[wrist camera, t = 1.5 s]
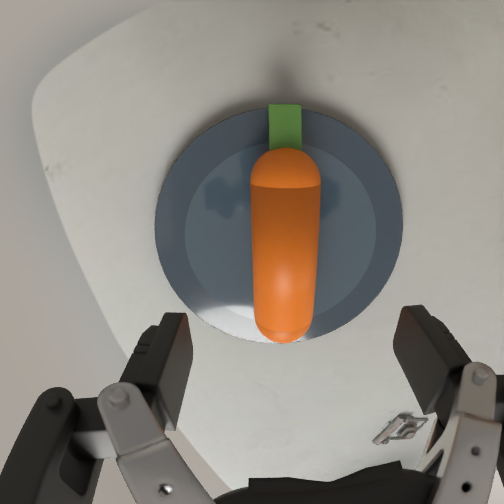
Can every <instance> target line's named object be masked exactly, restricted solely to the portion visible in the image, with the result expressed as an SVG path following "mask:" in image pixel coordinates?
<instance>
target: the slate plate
mask: <svg viewBox="0 0 504 504" xmlns="http://www.w3.org/2000/svg"><path fill="white" fill-rule="evenodd" d="M301 114H302V151H303V152H305V153H306V154H307V155H308V156H310V157H311V159H312V160H313V161H314V162H315V164H316V166H317V168H318V169H319V173H320V177H321V196H320V222H319V241H318V258H317V272H316V285H315V297H314V309H313V318H312V322H311V325H310V327H309V329H308V330H307V332H306V333H305V334H304V335H303V336H302V337H300V338H299V339H297V340H295V341H293V342H299V341H304V340H309V339H312V338H316V337H319V336H322V335H324V334H327V333H329V332H331V331H334V330H336V329H338V328H339V327H341V326H343V325H345V324H346V323H348V322H349V321H351V320H352V319H353V318H355V317H356V316H358V315H359V314H360V313H361V312H362V311H363V310H364V309H366V308H367V307H368V306H369V305H370V304H371V303H372V301H373V300H374V299H375V298H376V297H377V296H378V294H379V293H380V292H381V290H382V289H383V287H384V286H385V284H386V283H387V281H388V279H389V277H390V275H391V273H392V271H393V269H394V266H395V264H396V261H397V258H398V255H399V251H400V246H401V241H402V231H403V217H402V207H401V202H400V196H399V193H398V190H397V187H396V184H395V181H394V179H393V177H392V175H391V173H390V171H389V169H388V167H387V165H386V163H385V162H384V161H383V159H382V158H381V156H380V155H379V154H378V152H377V151H376V150H375V149H374V148H373V147H372V146H371V145H370V144H369V143H368V141H367V140H366V139H364V138H363V137H362V136H361V135H359V134H358V133H357V132H356V131H354V130H353V129H352V128H350V127H348V126H347V125H345V124H343V123H341V122H340V121H338V120H336V119H334V118H331V117H329V116H326V115H323V114H321V113H318V112H314V111H309V110H305V109H301ZM268 151H270V150H269V116H268V108H262V109H257V110H252V111H248V112H244V113H241V114H238V115H236V116H233V117H230V118H228V119H225V120H224V121H222V122H220V123H218V124H216V125H214V126H213V127H211V128H209V129H208V130H207V131H205V132H204V133H203V134H201V135H200V136H199V137H197V138H196V139H195V140H194V141H193V142H192V143H191V144H190V145H189V146H188V147H187V148H186V149H185V150H184V151H183V152H182V154H181V155H180V156H179V158H178V159H177V160H176V162H175V163H174V165H173V166H172V168H171V170H170V172H169V173H168V175H167V177H166V179H165V181H164V184H163V186H162V189H161V192H160V195H159V198H158V203H157V208H156V213H155V240H156V247H157V252H158V256H159V260H160V263H161V266H162V268H163V271H164V274H165V275H166V277H167V279H168V281H169V283H170V285H171V287H172V288H173V290H174V291H175V292H176V294H177V295H178V297H179V298H180V299H181V300H182V301H183V302H184V304H185V305H186V306H187V307H188V308H189V309H190V310H191V311H192V312H194V313H195V314H196V315H197V316H198V317H199V318H201V319H202V320H204V321H205V322H207V323H208V324H210V325H211V326H213V327H215V328H217V329H219V330H221V331H223V332H225V333H227V334H230V335H232V336H235V337H238V338H241V339H245V340H249V341H254V342H261V343H278V342H274V341H271V340H269V339H268V338H266V337H265V336H263V334H262V333H261V332H260V331H259V330H258V328H257V325H256V323H255V318H254V295H253V261H252V226H251V192H250V178H251V172H252V169H253V167H254V165H255V163H256V162H257V160H258V159H259V158H260V157H261V156H262V155H263V154H265V153H266V152H268ZM293 342H289V343H293Z"/></svg>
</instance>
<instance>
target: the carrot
mask: <svg viewBox="0 0 504 504" xmlns="http://www.w3.org/2000/svg"><path fill="white" fill-rule="evenodd" d="M268 116H269V150H270V151H268V152H266V153H265V154H263V155H262V156H261V157H260V158H259V159H258V160H257V162H256V163H255V165H254V167H253V169H252V172H251V178H250V192H251V226H252V261H253V295H254V318H255V323H256V325H257V328H258V330H259V331H260V332H261V333H262V334H263V336H265V337H266V338H268V339H269V340H271V341H274V342H278V343H289V342H293V341H295V340H297V339H299V338H300V337H302V336H303V335H304V334H305V333H306V332H307V330H308V329H309V327H310V325H311V322H312V318H313V309H314V297H315V285H316V272H317V258H318V241H319V222H320V196H321V177H320V173H319V169H318V168H317V166H316V164H315V162H314V161H313V160H312V159H311V157H310V156H308V155H307V154H306V153H305V152H303V151H302V114H301V104H269V105H268Z"/></svg>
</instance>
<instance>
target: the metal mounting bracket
mask: <svg viewBox="0 0 504 504" xmlns="http://www.w3.org/2000/svg"><path fill="white" fill-rule="evenodd" d="M403 421H404V423H409V422H410V421H425V422H424V423H423V424H422V425H421V426H420V427H419V428H418V427H417V426H416V425H417V424H405V425H404V426H403V427H402V428H401V429H400V430H399V431H398V432H397V433H398V434H399V433H400V435H399V436H398V437H402V438H387V437H388V436H389V435H390V434H391V433H392V432H393V431H394V430H395V429H396V428H397V427H398V426H399V425H400V424H401V423H402V422H403ZM427 421H428V419H413V417H411V416H400V415H398V416H397V417H396V418H395V419H394V420H393V421H392V422H391V423H390V422H388V423H390V424H389V425H388V426H387V427H386V430H385V429H384V430H383V431H382V432H381V433H380V434H379V435H378V436H377V437H376V438H375V439H374V440H373V443H374V444H376V445H379V444H380V443H382V444H387V443H388V442H389V440H403V439H411V438H413V437H414V436H415V434H416V432H417V431H418V430H419V429H420V428H421V427H422V426H423V425H424V424H425V423H426V422H427ZM415 426H416V427H417V428H418V429H417V428H416V427H415ZM414 427H415V428H414ZM398 434H397V435H398Z"/></svg>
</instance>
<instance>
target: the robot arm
mask: <svg viewBox="0 0 504 504" xmlns="http://www.w3.org/2000/svg"><path fill="white" fill-rule="evenodd" d="M393 349H394V353H395V355H396V357H397V359H398V361H399V363H400V365H401V367H402V369H403V371H404V373H405V375H406V377H407V380H408V382H409V384H410V386H411V388H412V390H413V392H414V394H415V396H416V399H417V401H418V403H419V405H420V407H421V409H422V412H423V414H424V415H427V414H430V413H434V412H436V414H437V417H436V419H435V420H434V423H433V426H432V429H431V432H430V435H429V438H428V441H427V444H426V446H425V449H424V452H423V455H422V457H421V459H420V461H419V463H418V465H417V467H416V468H415V470H410V469H402V465H401V462H400V460H399V461H395V462H391V463H387V464H382V465H378V466H373V467H368V468H365V469H362V470H360V471H358V472H355V473H353V474H350V475H348V476H345V477H343V478H340V479H337V480H335V481H331V482H322V481H313V480H305V479H297V478H290V477H282V478H249V486H248V487H244V488H240V489H236V490H233V491H230V492H228V493H225V494H223V495H221V496H219V497H217V498H215V499H214V500H213V499H212V498H211V497H210V496H209V494H208V493H207V492H206V490H205V489H204V488H203V486H202V485H201V484H200V482H199V481H198V480H197V478H196V477H195V476H194V474H193V473H192V471H191V470H190V469H189V467H188V466H187V464H186V463H185V461H184V460H183V458H182V457H181V455H180V454H179V452H178V451H177V449H176V448H175V446H174V445H173V443H172V442H171V440H170V439H169V438H167V437H166V435H165V434H164V431H165V430H170V431H175V430H176V426H177V421H178V417H179V413H180V409H181V405H182V401H183V397H184V393H185V389H186V385H187V381H188V377H189V373H190V369H191V365H192V360H193V345H192V340H191V334H190V328H189V323H188V317H187V314H186V313H169V312H166V313H165V314H164V316H163V318H162V320H161V322H160V324H159V326H155V325H152V326H150V327H149V328H148V329H147V330H146V331H145V332H144V333H142V335H141V337H140V339H139V341H138V343H137V345H136V347H135V349H134V351H133V352H134V353H132V355H131V357H130V359H129V362H128V363H127V365H126V368H125V370H124V372H123V374H122V376H121V378H120V380H119V382H118V383H114V384H111V385H109V386H108V387H106V388H104V389H103V390H102V391H101V392H100V394H99V396H98V397H94V398H81V399H74V397H73V396H72V394H71V392H70V391H68V390H67V389H65V388H62V387H55V388H50V389H48V390H46V391H45V392H43V393H42V394H41V395H40V396H39V397H38V399H37V401H36V403H35V404H34V406H33V408H32V410H31V412H30V414H29V416H28V417H27V419H26V421H25V423H24V425H23V427H22V429H21V431H20V433H19V435H18V437H17V439H16V441H15V444H14V446H13V448H12V450H11V452H10V454H9V456H8V459H7V461H6V463H5V465H4V468H3V470H2V472H1V475H0V504H92V501H93V497H94V494H95V489H96V486H97V482H98V478H99V475H100V471H101V467H102V464H103V461H104V458H116V462H117V465H118V467H119V469H120V471H121V474H122V476H123V478H124V480H125V482H126V484H127V486H128V488H129V490H130V492H131V494H132V496H133V498H134V500H135V502H136V503H137V504H487V503H488V499H489V495H490V492H491V488H492V483H493V479H494V474H495V469H496V467H497V470H498V472H499V475H500V478H501V481H502V483H503V486H504V375H496V374H495V372H494V371H493V370H492V369H491V368H490V367H489V366H487V365H486V364H483V363H480V362H472V361H471V360H470V358H469V357H468V355H467V354H466V353H465V351H464V350H463V348H462V347H461V346H460V344H459V343H458V342H457V340H455V338H454V336H453V335H452V334H451V333H449V330H448V328H447V327H446V326H445V325H444V323H443V322H441V321H440V320H438V319H437V318H435V317H434V316H431V315H430V314H429V312H428V311H427V310H426V308H425V307H424V306H423V305H412V306H404V307H403V308H402V310H401V313H400V317H399V321H398V325H397V328H396V332H395V335H394V339H393Z"/></svg>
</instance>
